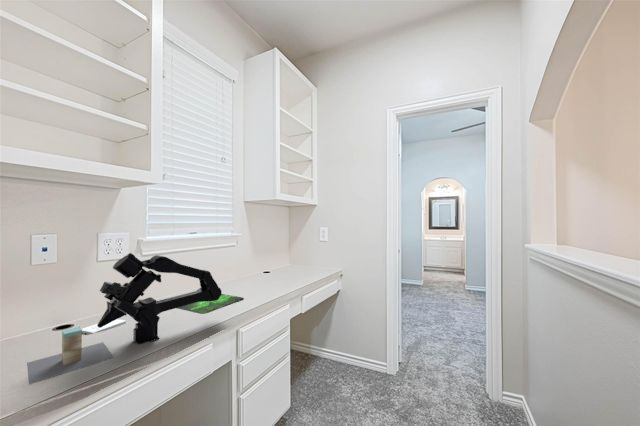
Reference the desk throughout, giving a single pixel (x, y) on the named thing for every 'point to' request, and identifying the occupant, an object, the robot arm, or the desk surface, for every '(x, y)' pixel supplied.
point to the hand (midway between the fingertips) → (98, 326)
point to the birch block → (71, 345)
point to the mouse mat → (211, 304)
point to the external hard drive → (96, 329)
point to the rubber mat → (55, 366)
